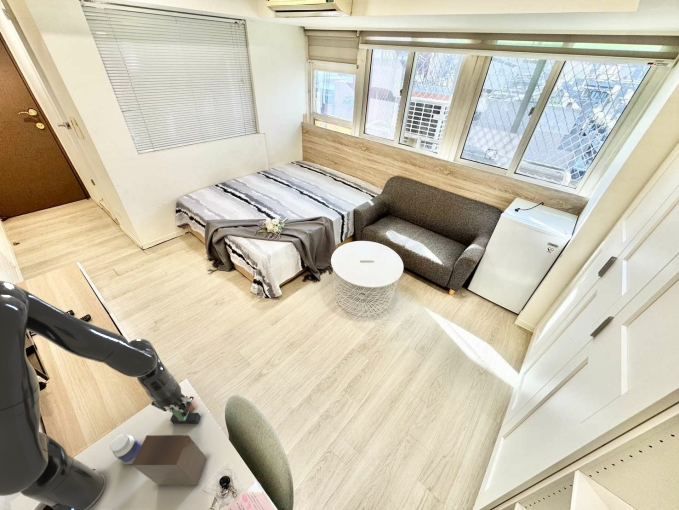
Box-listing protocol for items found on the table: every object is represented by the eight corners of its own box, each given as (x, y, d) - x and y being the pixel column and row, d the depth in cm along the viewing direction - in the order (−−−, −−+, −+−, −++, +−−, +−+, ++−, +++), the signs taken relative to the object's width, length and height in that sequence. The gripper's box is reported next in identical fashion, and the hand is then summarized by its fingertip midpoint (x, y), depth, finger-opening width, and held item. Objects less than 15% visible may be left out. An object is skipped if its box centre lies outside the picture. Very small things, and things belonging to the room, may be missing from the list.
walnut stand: (158, 485, 81) (131, 465, 71) (170, 457, 87) (146, 435, 76) (197, 485, 81) (176, 464, 71) (206, 457, 87) (188, 435, 76)
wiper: (172, 424, 95) (161, 411, 89) (176, 415, 97) (166, 402, 91) (197, 424, 95) (188, 411, 89) (201, 415, 97) (192, 402, 91)
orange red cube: (195, 408, 99) (191, 402, 97) (184, 416, 97) (180, 411, 95) (190, 400, 102) (186, 395, 99) (179, 408, 99) (175, 403, 97)
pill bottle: (147, 445, 90) (134, 432, 84) (135, 465, 85) (120, 454, 79) (131, 443, 90) (117, 430, 84) (119, 463, 86) (102, 452, 80)
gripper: (133, 400, 80) (156, 425, 90) (179, 400, 80) (197, 425, 90) (147, 376, 86) (168, 402, 96) (190, 376, 86) (206, 402, 96)
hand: (182, 413), depth 93 cm, fingers closed on wiper, 2 cm apart
